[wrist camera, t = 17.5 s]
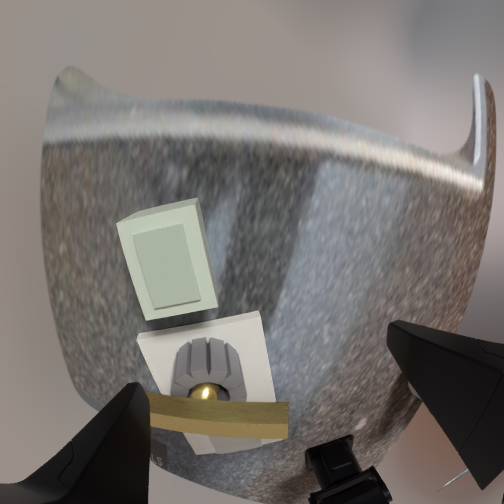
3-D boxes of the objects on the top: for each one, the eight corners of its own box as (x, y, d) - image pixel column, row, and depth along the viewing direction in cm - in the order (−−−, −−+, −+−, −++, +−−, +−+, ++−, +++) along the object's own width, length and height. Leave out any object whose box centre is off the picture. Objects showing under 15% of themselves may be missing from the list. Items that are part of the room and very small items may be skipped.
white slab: (281, 434, 27) (291, 467, 22) (197, 449, 26) (198, 483, 21) (258, 310, 22) (271, 345, 17) (138, 333, 21) (125, 370, 16)
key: (288, 355, 20) (288, 423, 14) (288, 373, 21) (287, 438, 15) (144, 349, 22) (113, 404, 16) (150, 366, 22) (123, 420, 16)
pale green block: (215, 276, 21) (218, 308, 16) (158, 288, 20) (145, 322, 15) (198, 197, 19) (194, 205, 14) (137, 211, 19) (114, 224, 14)
